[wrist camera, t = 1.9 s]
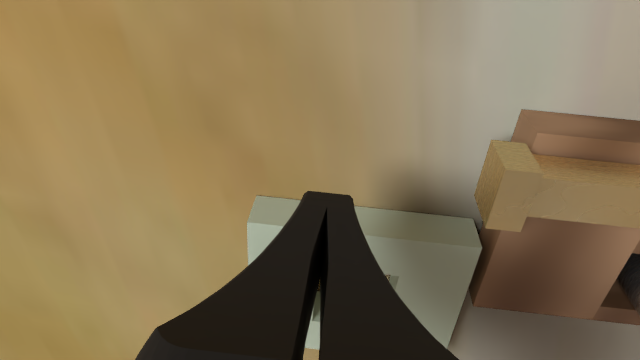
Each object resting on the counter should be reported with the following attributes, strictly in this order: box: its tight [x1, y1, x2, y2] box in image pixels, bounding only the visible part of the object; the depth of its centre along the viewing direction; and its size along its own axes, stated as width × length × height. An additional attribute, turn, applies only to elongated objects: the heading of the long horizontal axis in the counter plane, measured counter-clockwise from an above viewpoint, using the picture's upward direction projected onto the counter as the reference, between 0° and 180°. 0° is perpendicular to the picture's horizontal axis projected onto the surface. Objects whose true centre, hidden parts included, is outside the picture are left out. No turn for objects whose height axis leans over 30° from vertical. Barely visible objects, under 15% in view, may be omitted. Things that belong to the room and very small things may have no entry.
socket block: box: [469, 109, 640, 325], centre depth 19 cm, size 10×9×2 cm
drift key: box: [474, 140, 640, 232], centre depth 16 cm, size 7×2×2 cm, turn 86°
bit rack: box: [247, 196, 482, 349], centre depth 22 cm, size 10×8×2 cm
